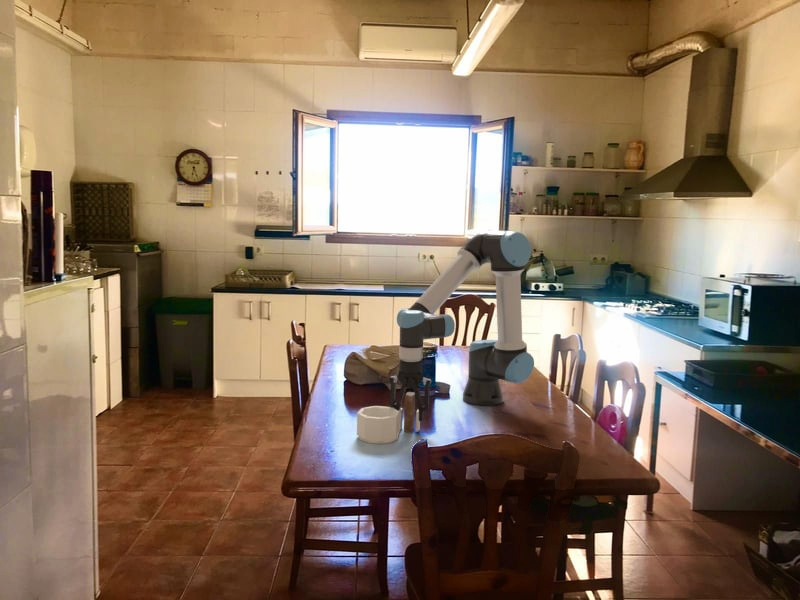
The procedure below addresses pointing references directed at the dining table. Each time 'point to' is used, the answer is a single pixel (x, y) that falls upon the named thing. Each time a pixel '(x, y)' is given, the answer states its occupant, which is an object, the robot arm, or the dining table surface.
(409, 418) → the brown rectangular block
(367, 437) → the white short hollow cylinder
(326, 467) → the dining table surface
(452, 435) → the dining table surface
